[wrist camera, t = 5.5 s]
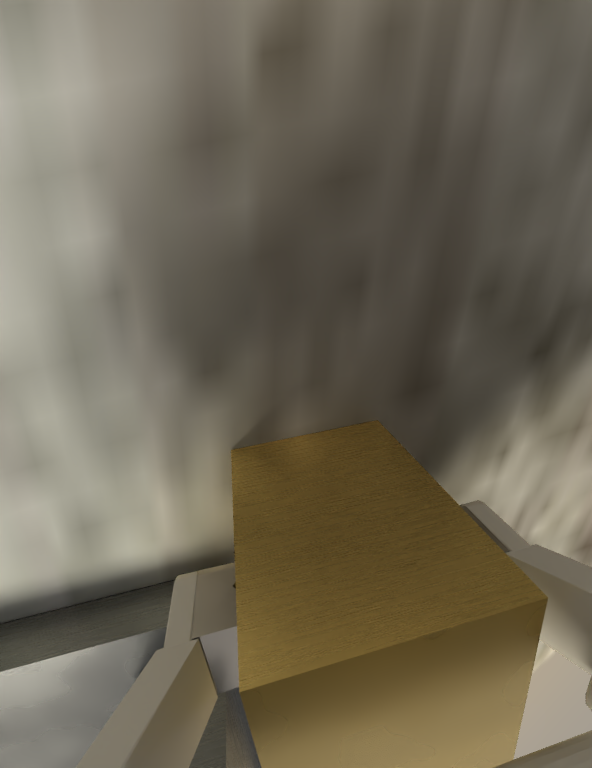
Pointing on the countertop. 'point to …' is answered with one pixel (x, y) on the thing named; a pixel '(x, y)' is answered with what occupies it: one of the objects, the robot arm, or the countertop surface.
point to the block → (373, 611)
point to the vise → (95, 682)
